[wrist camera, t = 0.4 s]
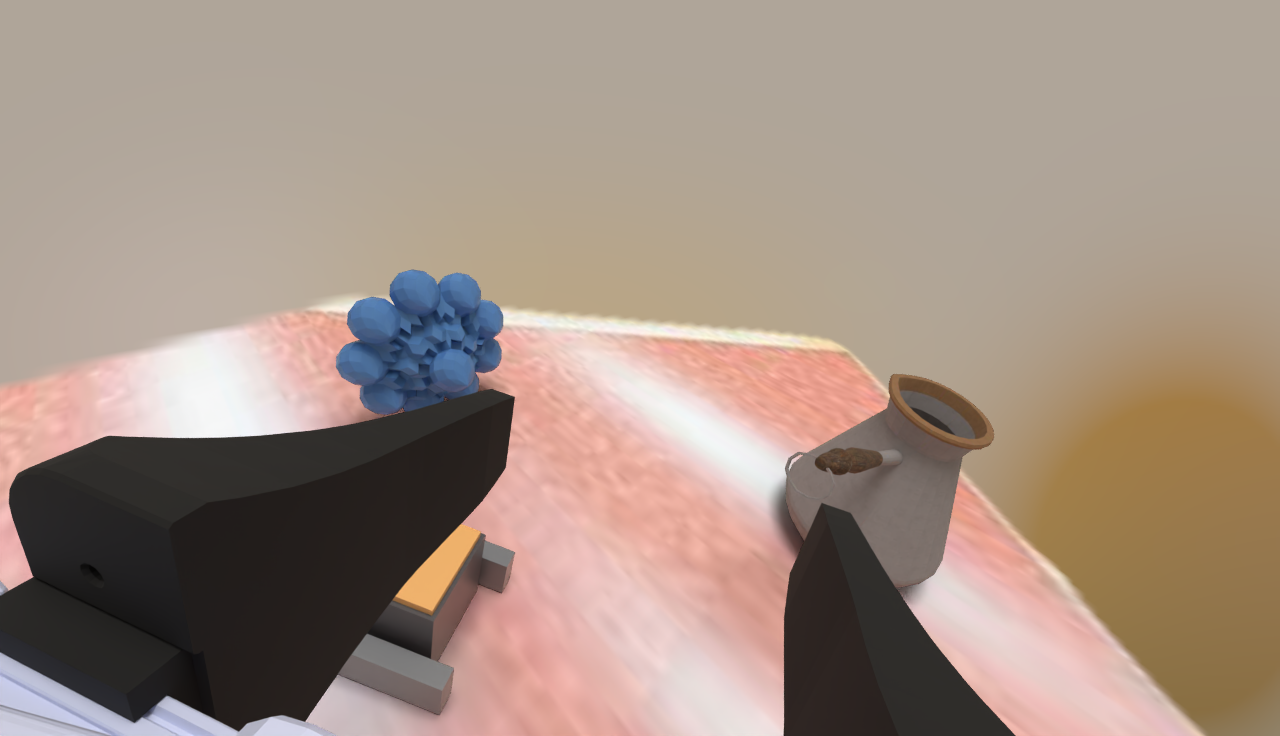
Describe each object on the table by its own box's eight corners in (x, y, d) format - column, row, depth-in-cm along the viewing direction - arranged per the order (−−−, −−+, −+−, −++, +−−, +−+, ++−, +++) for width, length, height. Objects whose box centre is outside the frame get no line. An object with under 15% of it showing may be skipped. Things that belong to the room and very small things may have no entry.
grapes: (376, 489, 33) (372, 328, 27) (326, 424, 36) (310, 264, 30) (528, 421, 42) (554, 284, 35) (476, 372, 45) (491, 237, 38)
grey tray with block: (192, 1198, 15) (138, 1220, 12) (-68, 1079, 15) (-186, 1069, 12) (509, 578, 31) (521, 518, 28) (381, 528, 32) (379, 464, 28)
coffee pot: (826, 459, 47) (920, 314, 39) (945, 562, 41) (1088, 417, 33) (639, 562, 34) (720, 378, 26) (773, 738, 28) (938, 572, 19)
